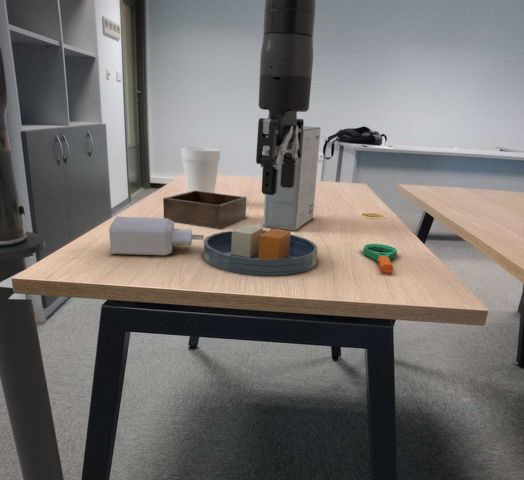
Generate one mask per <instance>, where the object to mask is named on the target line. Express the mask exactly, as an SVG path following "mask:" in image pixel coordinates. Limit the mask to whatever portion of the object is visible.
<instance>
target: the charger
mask: <svg viewBox="0 0 524 480" xmlns="http://www.w3.org/2000/svg"><path fill="white" fill-rule="evenodd" d="M108 229H109V230H108V232H109V234H108V235H109V243H110V253H111V254H112V255H132V256H133V255H138V256H140V255H141V256H167V255H170V254H171V253H173V249H174V246H189V247H191V246H192V243H193V240H200V241H204V240H205V239H204V238H205V236H204V234H196V233H195V234H193V232H192V229H191V228H190V229H189V228H175V222H174V221H172V220H170V219H168V218H164V217H140V216H139V217H137V216H116V217H115V218H114V220H113V221H112V222H111V224H110V225H109V228H108Z"/></svg>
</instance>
